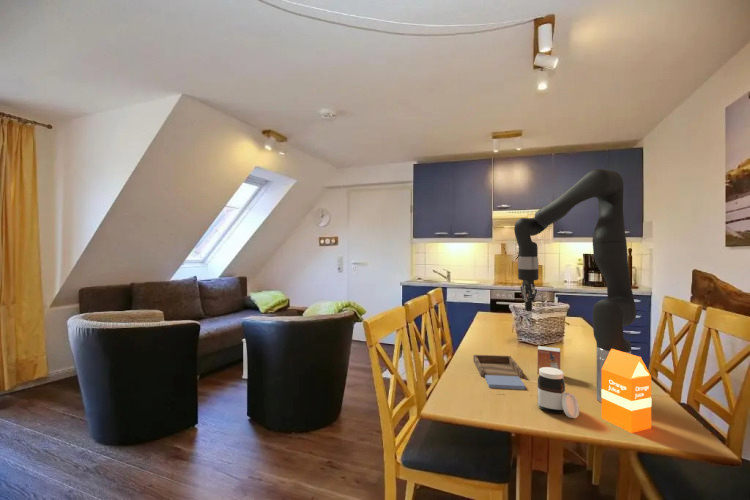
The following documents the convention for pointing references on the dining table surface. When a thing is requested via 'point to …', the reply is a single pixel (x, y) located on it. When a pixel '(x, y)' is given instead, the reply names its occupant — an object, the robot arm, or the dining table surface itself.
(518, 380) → the cover plate
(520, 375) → the walnut tray
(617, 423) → the orange juice
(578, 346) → the dining table surface
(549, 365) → the small box
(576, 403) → the spread jar
